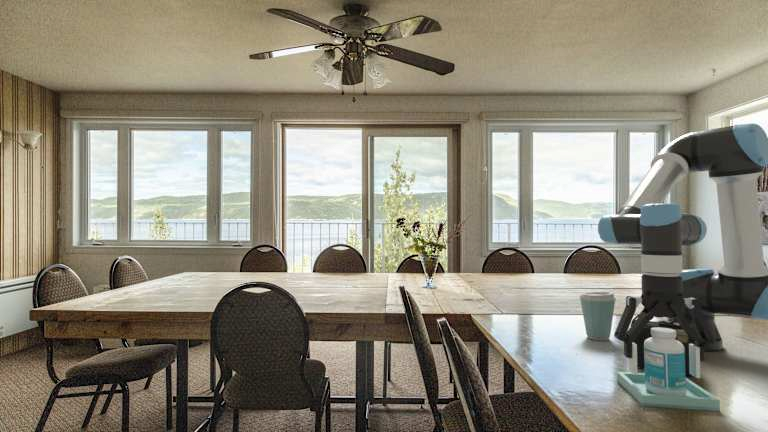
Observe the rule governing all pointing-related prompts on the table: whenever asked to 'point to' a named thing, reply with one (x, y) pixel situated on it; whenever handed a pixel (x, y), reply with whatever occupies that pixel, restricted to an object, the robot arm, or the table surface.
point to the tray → (691, 400)
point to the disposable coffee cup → (598, 314)
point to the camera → (646, 334)
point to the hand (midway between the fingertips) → (663, 374)
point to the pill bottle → (664, 363)
